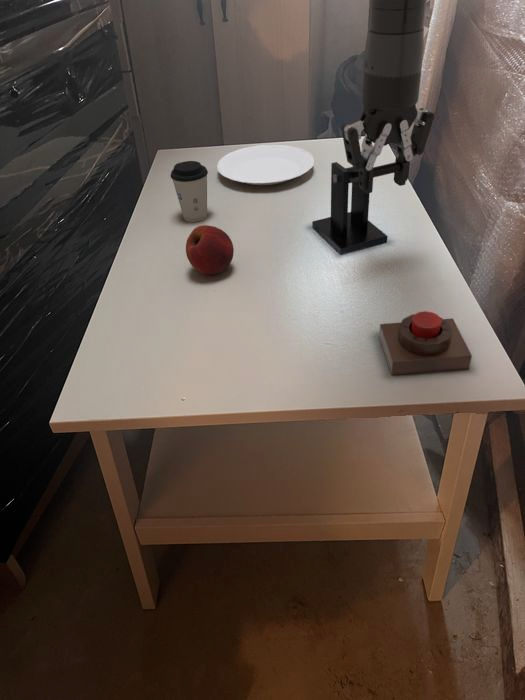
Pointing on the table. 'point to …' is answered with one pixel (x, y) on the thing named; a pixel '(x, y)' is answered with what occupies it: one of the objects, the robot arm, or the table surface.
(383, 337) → the control block
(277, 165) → the plate
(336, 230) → the lever stand
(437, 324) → the button
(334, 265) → the table surface
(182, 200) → the coffee cup
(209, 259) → the apple
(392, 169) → the black lever
